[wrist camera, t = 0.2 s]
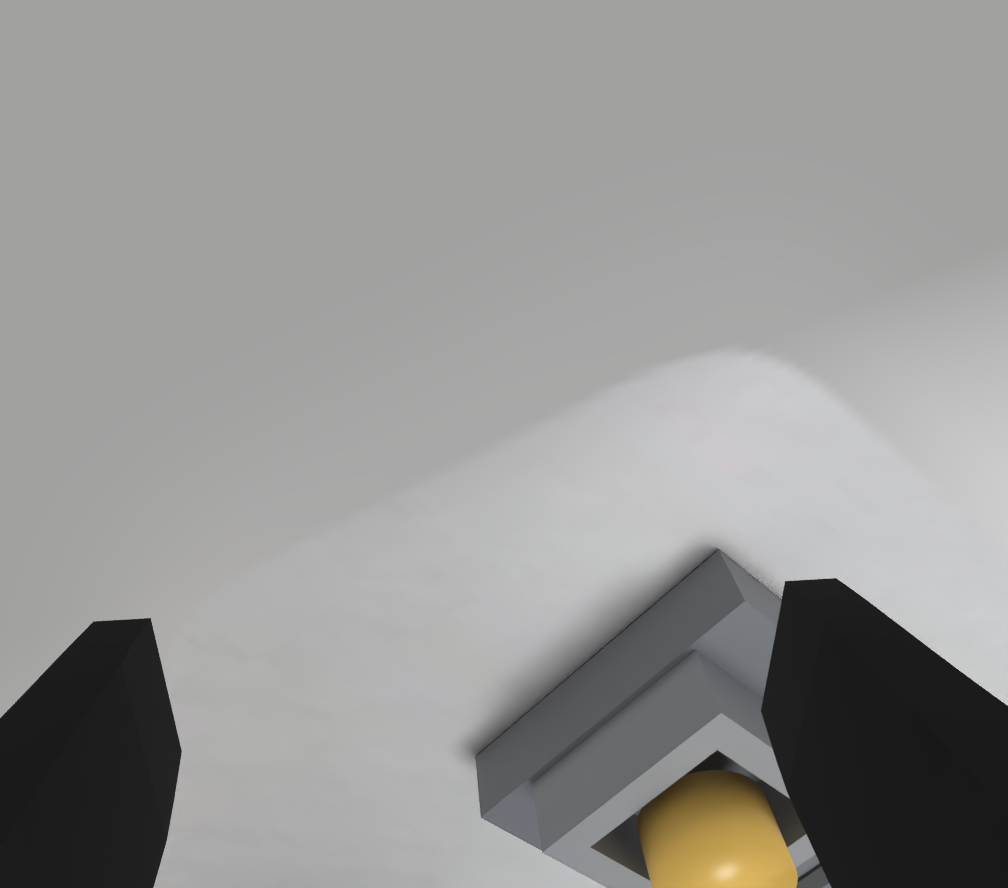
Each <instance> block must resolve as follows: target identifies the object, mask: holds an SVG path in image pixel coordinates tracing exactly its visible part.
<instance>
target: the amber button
mask: <svg viewBox="0 0 1008 888" xmlns="http://www.w3.org/2000/svg"><path fill="white" fill-rule="evenodd" d="M637 831H638V835H639V839H640V843H641V847H642V851H643V854H644V858H645V862H646V866H647V870H648V874H649V877H650V881H651V885H652V888H796V886H797V881H798V876H797V870H796V868H795V865H794V863H793V860H792V858H791V856H790V853H789V851H788V848H787V846H786V844H785V841H784V839H783V836H782V834H781V832H780V829H779V827H778V825H777V822H776V820H775V817H774V815H773V813H772V810H771V808H770V805H769V803H768V801H767V798H766V796H765V794H764V792H763V790H762V788H761V787H760V786H759V785H758V784H757V783H756V782H755V781H754V780H752V779H751V778H749V777H747V776H745V775H742V774H740V773H736V772H732V771H725V770H707V771H700V772H695V773H691V774H687V775H685V776H683V777H681V778H680V779H679V780H677V781H676V782H675V783H673V784H672V785H671V786H669V787H668V788H667V789H666V790H664V791H663V792H662V793H660V794H659V795H658V796H656V797H655V798H654V799H652V800H651V801H650V802H649V803H647V804H646V805H645V806H643V807H642V808H641V810H640V812H639V815H638V819H637Z"/></svg>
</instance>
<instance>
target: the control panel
mask: <svg viewBox="0 0 1008 888" xmlns="http://www.w3.org/2000/svg"><path fill="white" fill-rule="evenodd" d="M781 602H782V600H781V599H780V598H778V597H777V596H776V595H775V594H773V593H772V592H771V591H770V590H768V589H767V588H766V587H765V586H763V585H762V584H761V583H760V582H759V581H757V580H756V579H755V578H754V577H752V576H751V575H750V574H749V573H747V572H746V571H745V570H744V569H742V568H741V567H740V566H739V565H737V564H736V563H735V562H734V561H733V560H731V559H730V558H729V557H728V556H726V555H725V554H724V553H723V552H721V551H720V550H718V551H717V552H715V553H714V554H713V555H712V556H711V557H710V558H708V559H707V560H706V561H705V562H704V563H702V564H701V565H700V566H699V567H698V568H697V569H695V570H694V571H693V572H692V573H691V574H690V575H688V576H687V577H686V578H685V579H684V580H683V581H681V582H680V583H679V584H678V585H677V586H676V587H674V588H673V589H672V590H671V591H670V592H668V593H667V594H666V595H665V596H664V597H663V598H661V599H660V600H659V601H658V602H657V603H656V604H654V605H653V606H652V607H651V608H650V609H649V610H647V611H646V612H645V613H644V614H643V615H641V616H640V617H639V618H638V619H637V620H636V621H634V622H633V623H632V624H631V625H630V626H629V627H627V628H626V629H625V630H624V631H623V632H622V633H620V634H619V635H618V636H617V637H616V638H614V639H613V640H612V641H611V642H610V643H609V644H607V645H606V646H605V647H604V648H603V649H602V650H600V651H599V652H598V653H597V654H596V655H595V656H593V657H592V658H591V659H590V660H589V661H587V662H586V663H585V664H584V665H583V666H582V667H580V668H579V669H578V670H577V671H576V672H575V673H573V674H572V675H571V676H570V677H569V678H568V679H566V680H565V681H564V682H563V683H562V684H561V685H559V686H558V687H557V688H556V689H555V690H553V691H552V692H551V693H550V694H549V695H548V696H546V697H545V698H544V699H543V700H542V701H541V702H539V703H538V704H537V705H536V706H535V707H534V708H532V709H531V710H530V711H529V712H528V713H526V714H525V715H524V716H523V717H522V718H521V719H519V720H518V721H517V722H516V723H515V724H514V725H512V726H511V727H510V728H509V729H508V730H507V731H505V732H504V733H503V734H502V735H501V736H499V737H498V738H497V739H496V740H495V741H494V742H492V743H491V744H490V745H489V746H488V747H487V748H485V749H484V750H483V751H482V752H481V753H480V754H478V755H477V756H476V767H477V779H478V790H479V801H480V812H481V818H483V819H485V820H487V821H488V822H490V823H492V824H494V825H496V826H498V827H499V828H501V829H503V830H505V831H507V832H509V833H511V834H512V835H514V836H516V837H518V838H520V839H522V840H523V841H525V842H527V843H529V844H531V845H533V846H535V847H536V848H538V849H540V850H542V853H544V854H546V855H548V856H550V857H552V858H553V859H555V860H557V861H559V862H561V863H563V864H565V865H566V866H568V867H570V868H572V869H574V870H576V871H578V872H579V873H581V874H583V875H585V876H587V877H589V878H590V879H592V880H594V881H596V882H598V883H600V884H602V885H603V886H605V887H607V888H652V885H651V881H650V877H649V874H648V870H647V866H646V862H645V858H644V854H643V851H642V847H641V843H640V839H639V835H638V831H637V819H638V815H639V812H640V810H641V808H642V807H643V806H645V805H646V804H647V803H649V802H650V801H651V800H652V799H654V798H655V797H656V796H658V795H659V794H660V793H662V792H663V791H664V790H666V789H667V788H668V787H669V786H671V785H672V784H673V783H675V782H676V781H677V780H679V779H680V778H681V777H683V776H685V775H687V774H691V773H695V772H700V771H707V770H725V771H732V772H736V773H740V774H742V775H745V776H747V777H749V778H751V779H752V780H754V781H755V782H756V783H757V784H758V785H759V786H760V787H761V788H762V790H763V792H764V794H765V796H766V798H767V801H768V803H769V805H770V808H771V810H772V813H773V815H774V817H775V820H776V822H777V825H778V827H779V829H780V832H781V834H782V836H783V839H784V841H785V844H786V846H787V848H788V851H789V853H790V856H791V858H792V860H793V863H794V865H795V868H796V870H797V876H798V881H797V886H796V888H831V886H830V884H829V882H828V879H827V877H826V875H825V873H824V871H823V869H822V867H821V865H820V862H819V860H818V858H817V856H816V854H815V852H814V850H813V847H812V845H811V843H810V841H809V839H808V837H807V835H806V832H805V830H804V828H803V826H802V824H801V822H800V819H799V817H798V815H797V813H796V811H795V809H794V806H793V804H792V802H791V800H790V797H789V795H788V793H787V790H786V788H785V785H784V782H783V779H782V776H781V773H780V770H779V767H778V764H777V761H776V758H775V755H774V752H773V749H772V745H771V742H770V739H769V736H768V732H767V729H766V726H765V723H764V719H763V716H762V713H761V707H762V702H763V697H764V691H765V686H766V681H767V676H768V670H769V665H770V660H771V654H772V649H773V644H774V639H775V633H776V628H777V623H778V618H779V612H780V607H781Z"/></svg>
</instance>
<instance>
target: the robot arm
mask: <svg viewBox="0 0 1008 888" xmlns="http://www.w3.org/2000/svg"><path fill="white" fill-rule="evenodd" d="M761 713H762V716H763V719H764V723H765V726H766V729H767V732H768V736H769V739H770V742H771V745H772V749H773V752H774V755H775V758H776V761H777V764H778V767H779V770H780V773H781V776H782V779H783V782H784V785H785V788H786V790H787V793H788V795H789V797H790V800H791V802H792V804H793V806H794V809H795V811H796V813H797V815H798V817H799V819H800V822H801V824H802V826H803V828H804V830H805V832H806V835H807V837H808V839H809V841H810V843H811V845H812V847H813V850H814V852H815V854H816V856H817V858H818V860H819V862H820V865H821V867H822V869H823V871H824V873H825V875H826V877H827V879H828V882H829V884H830V886H831V888H1008V706H1007V705H1006V704H1004V703H1003V702H1001V701H1000V700H999V699H997V698H996V697H995V696H993V695H992V694H990V693H989V692H988V691H986V690H985V689H983V688H982V687H981V686H979V685H978V684H977V683H975V682H974V681H973V680H971V679H970V678H969V677H967V676H966V675H964V674H963V673H962V672H960V671H959V670H958V669H956V668H955V667H954V666H952V665H951V664H950V663H948V662H947V661H946V660H944V659H943V658H942V657H940V656H939V655H938V654H936V653H935V652H934V651H932V650H931V649H930V648H928V647H927V646H926V645H925V644H923V643H922V642H921V641H919V640H918V639H917V638H915V637H914V636H913V635H911V634H910V633H909V632H907V631H906V630H905V629H904V628H902V627H901V626H900V625H898V624H897V623H896V622H894V621H893V620H892V619H890V618H889V617H888V616H887V615H885V614H884V613H883V612H881V611H880V610H879V609H877V608H876V607H875V606H873V605H872V604H871V603H869V602H868V601H867V600H865V599H864V598H863V597H861V596H860V595H859V594H857V593H856V592H855V591H853V590H852V589H850V588H849V587H848V586H846V585H845V584H843V583H842V582H840V581H839V580H837V579H836V578H834V579H817V580H800V581H785V586H784V591H783V596H782V602H781V607H780V612H779V618H778V623H777V628H776V633H775V639H774V644H773V649H772V654H771V660H770V665H769V670H768V676H767V681H766V686H765V691H764V697H763V702H762V707H761ZM181 752H182V751H181V747H180V743H179V738H178V734H177V730H176V725H175V721H174V717H173V713H172V708H171V704H170V700H169V695H168V691H167V687H166V682H165V678H164V674H163V670H162V665H161V661H160V657H159V653H158V648H157V644H156V640H155V635H154V631H153V627H152V622H151V619H150V618H147V619H131V620H114V621H96V622H93V623H92V624H91V625H90V626H89V627H88V628H87V629H86V630H85V631H84V632H83V633H82V634H81V635H80V636H79V637H78V638H77V639H76V640H75V641H74V642H73V643H72V644H71V645H70V646H69V647H68V648H67V649H66V651H64V652H63V653H62V654H61V656H59V658H58V659H57V660H56V661H55V662H54V663H53V664H52V665H51V666H50V667H49V668H48V669H47V670H46V671H45V672H44V673H43V674H42V675H41V676H40V677H39V679H38V680H37V681H36V682H35V683H34V684H33V685H32V686H31V687H30V688H29V689H28V690H27V691H26V692H25V693H24V694H23V695H22V696H21V697H20V698H19V699H18V700H17V702H16V703H15V704H14V705H13V706H12V707H11V708H10V709H9V710H8V711H7V712H6V713H5V714H4V715H3V716H2V717H1V718H0V888H153V886H154V883H155V879H156V876H157V873H158V869H159V866H160V862H161V859H162V855H163V852H164V848H165V845H166V841H167V836H168V830H169V825H170V819H171V814H172V808H173V803H174V797H175V790H176V784H177V778H178V771H179V765H180V759H181Z"/></svg>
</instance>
